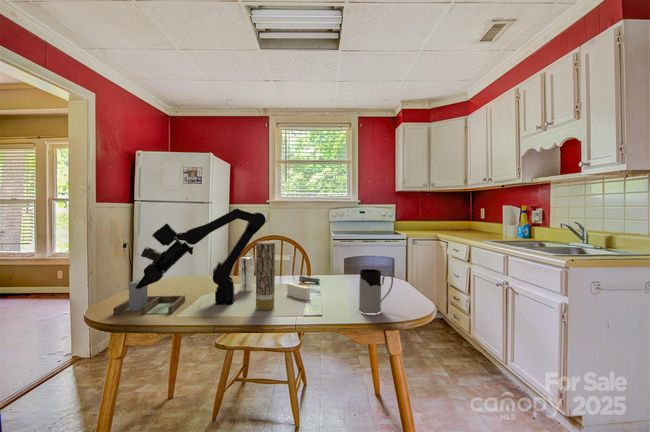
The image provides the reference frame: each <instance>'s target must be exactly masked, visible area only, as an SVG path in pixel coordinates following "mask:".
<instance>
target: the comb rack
mask: <svg viewBox="0 0 650 432" xmlns="http://www.w3.org/2000/svg"><path fill="white" fill-rule="evenodd" d="M184 303H186V295H183V294H182V295H147V304H146V305H144V306H143V307H141V311H140V312H141V314H140V315H142V316H143V315H162V314H163V315H166V314H167V315H173V314H174V313H175V312H176V311H177V310H178V309H179V308H180V307H181V306H183V305H184ZM126 310H129V298H128V299H127V300H125V301H123V302H121V303H120V304H118V305H116V306H115V307H113V316H118V315H120V314H121V313H123V312H125V311H126Z"/></svg>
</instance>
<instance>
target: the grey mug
mask: <svg viewBox="0 0 650 432" xmlns="http://www.w3.org/2000/svg"><path fill="white" fill-rule="evenodd" d="M359 274H360V275H359V276H360V277H359V289H358V290H359V296H358V298H359V299H358V301H359V302H358V304H359V305H358V309H359V311H361V312H363V313H378V312H380V311H382V306H381V305H382V302H383V301H384V300H385V299H386V298H387V297H388V295H389V294H390V293H391V290H392V289H393V284H394V276H393V274H391V272H390V273H389V272H386V273H384V275H383V276H382V275H381V274H382V271H381V270H379V269H373V268H372V269H371V268H365V269H360V271H359ZM387 275H390V277H391V280H390V281H391V282H390V287H389V289H388V291H387V292H386V294H385V295H384V296H383V297H382V286H383V285H384V283H385V277H386V276H387ZM381 276H382V277H381ZM381 279H382V280H381Z"/></svg>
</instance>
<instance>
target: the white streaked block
mask: <svg viewBox="0 0 650 432" xmlns="http://www.w3.org/2000/svg"><path fill="white" fill-rule="evenodd" d="M238 259H239V261H238V272H239V278H240V285H239V286H240V288H239V291H240V293H241V292H243V293H249V292H253V291H254V285H253V284H254V275H255V271H256V263H255V262H256V260H255V256H248V255H247V256H239V258H238Z"/></svg>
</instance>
